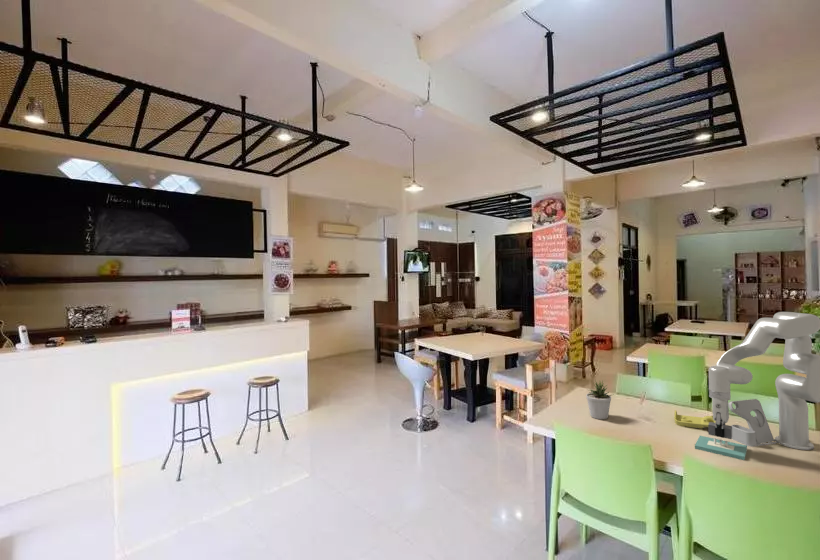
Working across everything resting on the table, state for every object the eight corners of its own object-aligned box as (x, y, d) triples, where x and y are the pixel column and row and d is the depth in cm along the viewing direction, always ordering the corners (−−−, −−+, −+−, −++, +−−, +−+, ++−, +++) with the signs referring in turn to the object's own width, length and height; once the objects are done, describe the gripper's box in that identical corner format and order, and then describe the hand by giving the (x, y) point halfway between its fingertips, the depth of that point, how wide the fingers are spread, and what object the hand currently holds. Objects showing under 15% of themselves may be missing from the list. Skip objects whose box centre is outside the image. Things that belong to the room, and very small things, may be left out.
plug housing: (709, 431, 178) (709, 421, 178) (732, 436, 173) (732, 426, 172) (708, 434, 175) (708, 424, 175) (731, 439, 169) (731, 429, 169)
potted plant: (618, 420, 210) (617, 383, 210) (592, 421, 210) (591, 384, 210) (607, 412, 222) (606, 377, 222) (582, 413, 223) (581, 378, 222)
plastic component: (673, 421, 201) (674, 407, 208) (676, 432, 203) (677, 418, 210) (722, 426, 188) (722, 412, 195) (724, 438, 191) (723, 423, 198)
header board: (699, 438, 185) (699, 430, 185) (747, 448, 173) (746, 440, 173) (694, 448, 175) (694, 439, 175) (744, 460, 163) (744, 450, 163)
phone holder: (749, 447, 175) (748, 407, 174) (727, 438, 185) (727, 400, 184) (781, 443, 177) (780, 404, 177) (758, 434, 187) (757, 397, 187)
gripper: (728, 401, 165) (729, 443, 165) (732, 391, 177) (733, 431, 177) (706, 397, 170) (707, 438, 170) (711, 388, 182) (712, 427, 182)
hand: (720, 434), depth 174 cm, fingers closed on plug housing, 4 cm apart
